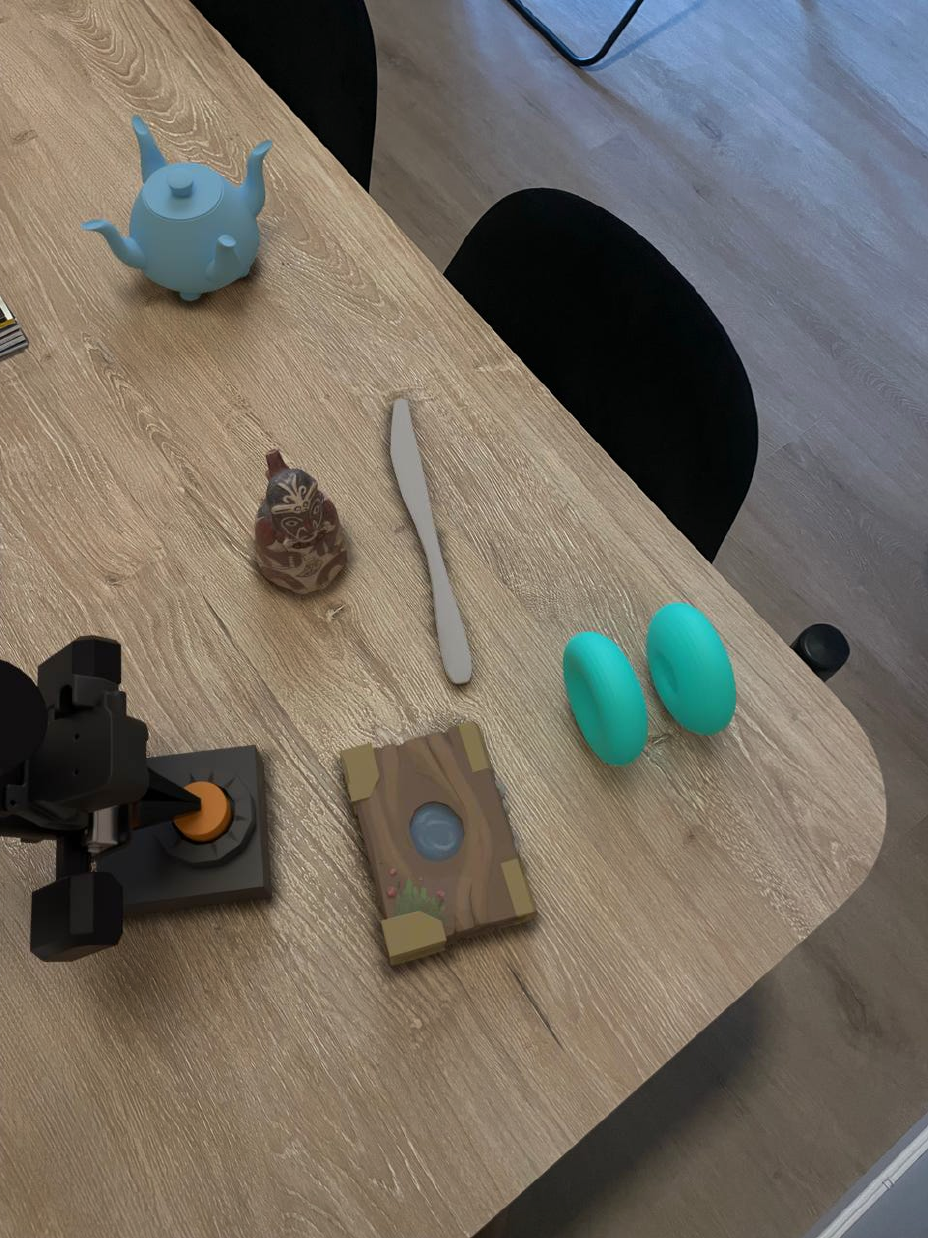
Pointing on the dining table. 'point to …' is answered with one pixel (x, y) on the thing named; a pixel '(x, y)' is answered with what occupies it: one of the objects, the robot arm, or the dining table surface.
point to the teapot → (189, 221)
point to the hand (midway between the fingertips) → (198, 806)
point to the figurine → (297, 530)
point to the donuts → (681, 672)
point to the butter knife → (429, 544)
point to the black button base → (200, 872)
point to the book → (437, 840)
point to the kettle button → (206, 814)
